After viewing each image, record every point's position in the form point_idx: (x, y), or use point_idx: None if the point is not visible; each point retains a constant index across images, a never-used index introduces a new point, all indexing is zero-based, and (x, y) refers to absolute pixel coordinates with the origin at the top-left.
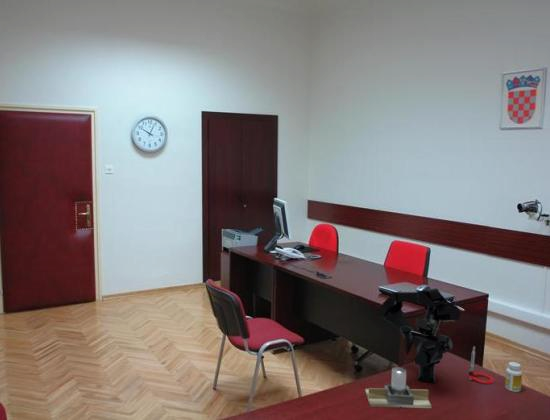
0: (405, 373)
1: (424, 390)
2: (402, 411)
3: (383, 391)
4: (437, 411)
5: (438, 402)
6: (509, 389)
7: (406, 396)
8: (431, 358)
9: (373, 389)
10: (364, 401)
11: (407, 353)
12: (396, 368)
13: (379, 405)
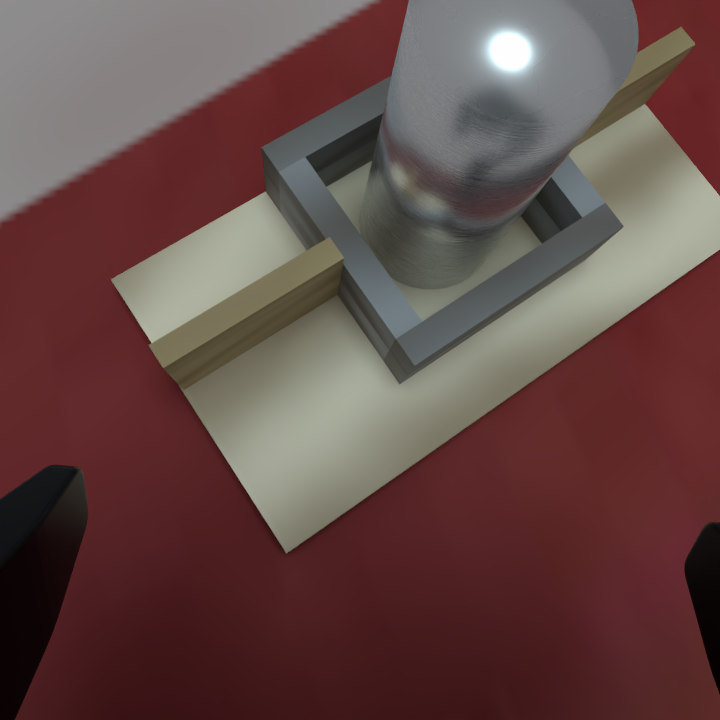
0: (408, 9)
1: (193, 320)
2: (323, 100)
3: None
4: (53, 267)
5: (84, 449)
6: None
7: (327, 115)
8: (18, 490)
9: (647, 48)
10: None
11: (700, 567)
12: (588, 56)
13: None
